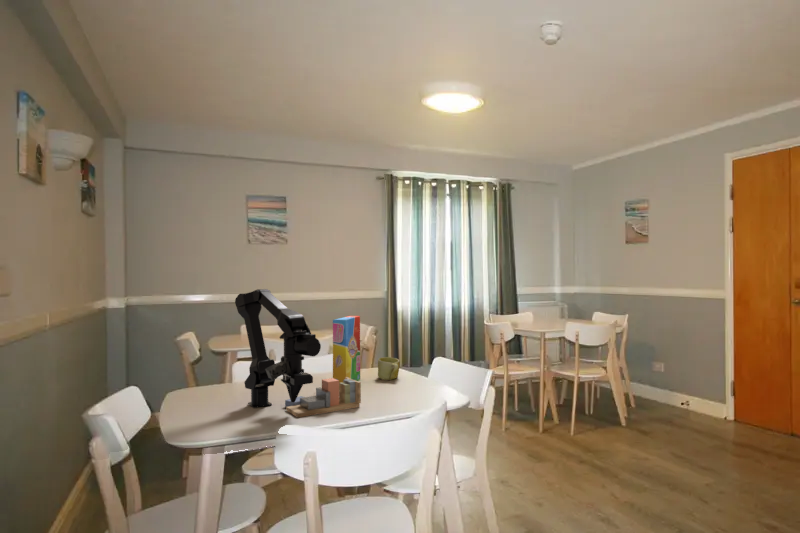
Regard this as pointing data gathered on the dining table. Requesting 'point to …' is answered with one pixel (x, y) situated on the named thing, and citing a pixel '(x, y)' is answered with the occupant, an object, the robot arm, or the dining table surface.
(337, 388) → the salmon orange block
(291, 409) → the wooden toy block set
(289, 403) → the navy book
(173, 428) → the dining table surface
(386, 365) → the mug
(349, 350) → the game box
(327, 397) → the bookend
